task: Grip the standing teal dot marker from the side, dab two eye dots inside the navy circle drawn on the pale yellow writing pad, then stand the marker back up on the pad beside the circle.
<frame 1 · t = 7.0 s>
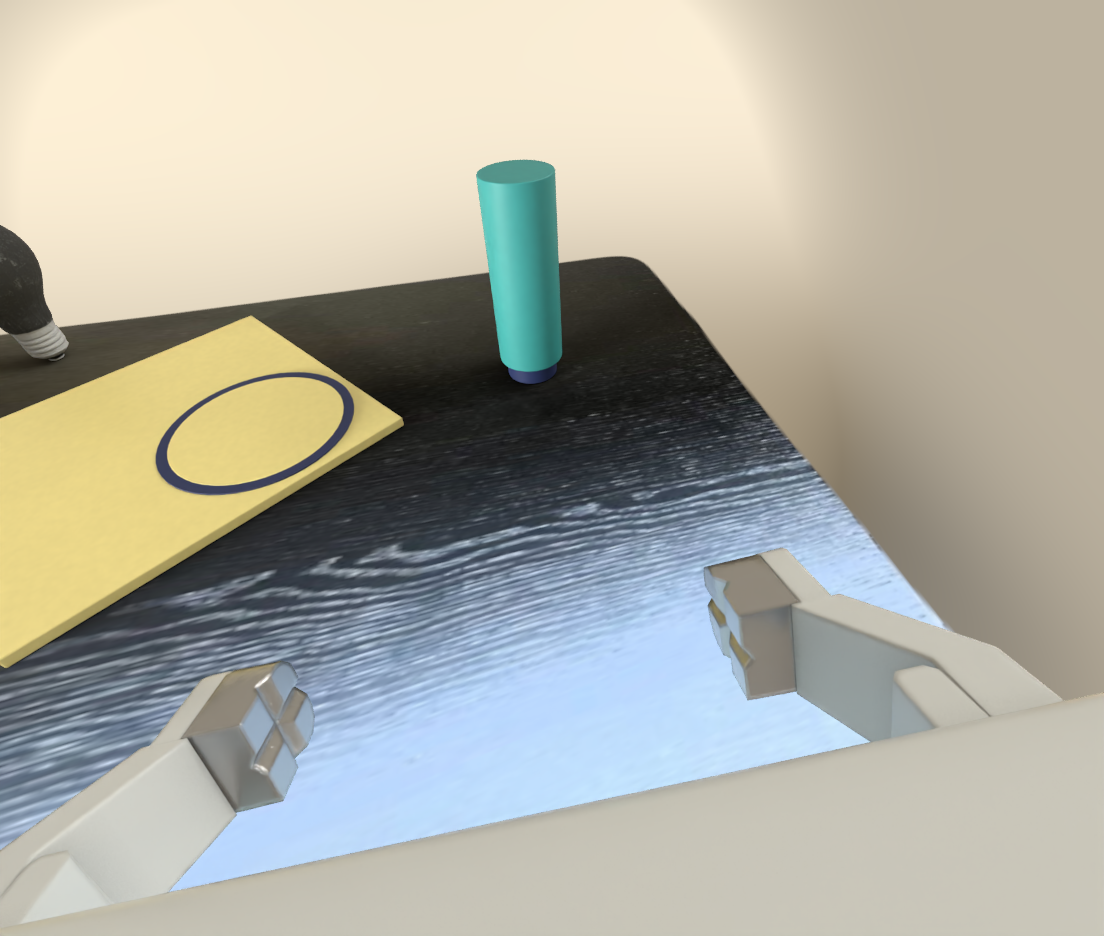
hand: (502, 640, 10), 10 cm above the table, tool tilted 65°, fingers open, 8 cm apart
light bulb: (59, 359, 39), on the table
dot marker: (532, 370, 35), on the table
writing pad: (169, 440, 32), on the table
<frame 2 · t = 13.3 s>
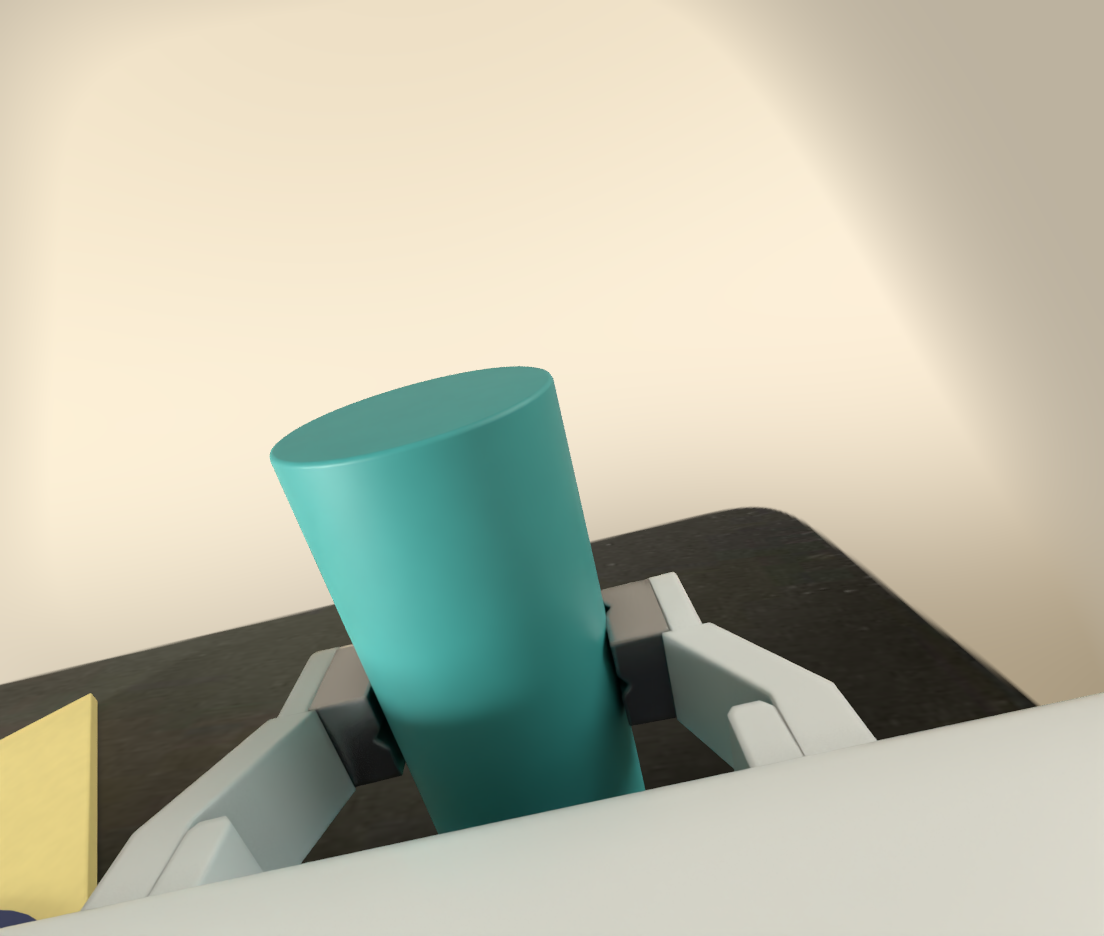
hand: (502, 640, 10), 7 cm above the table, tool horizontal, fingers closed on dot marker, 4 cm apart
dot marker: (581, 911, 12), on the table, touching gripper
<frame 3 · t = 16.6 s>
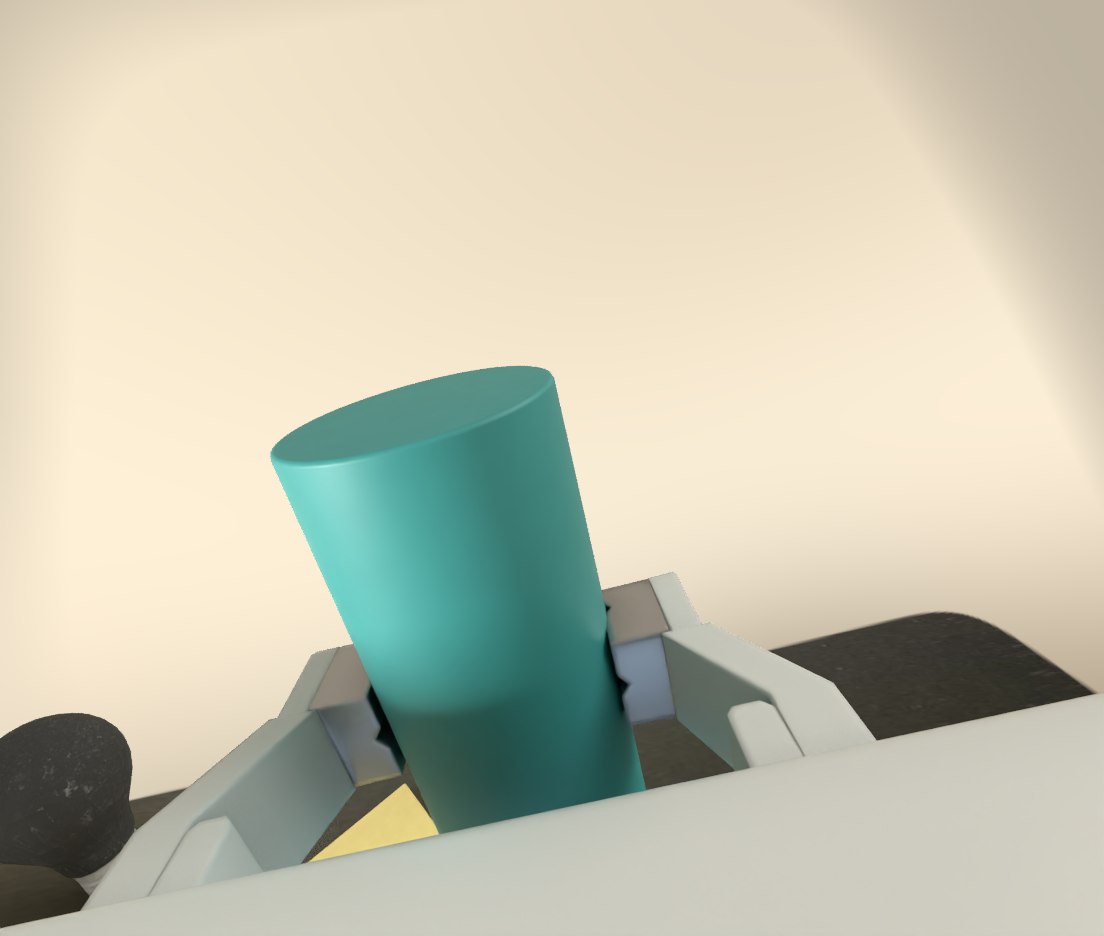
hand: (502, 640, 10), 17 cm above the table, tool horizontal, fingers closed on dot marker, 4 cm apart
light bulb: (132, 886, 26), on the table
dot marker: (581, 911, 12), point 10 cm above the table, touching gripper
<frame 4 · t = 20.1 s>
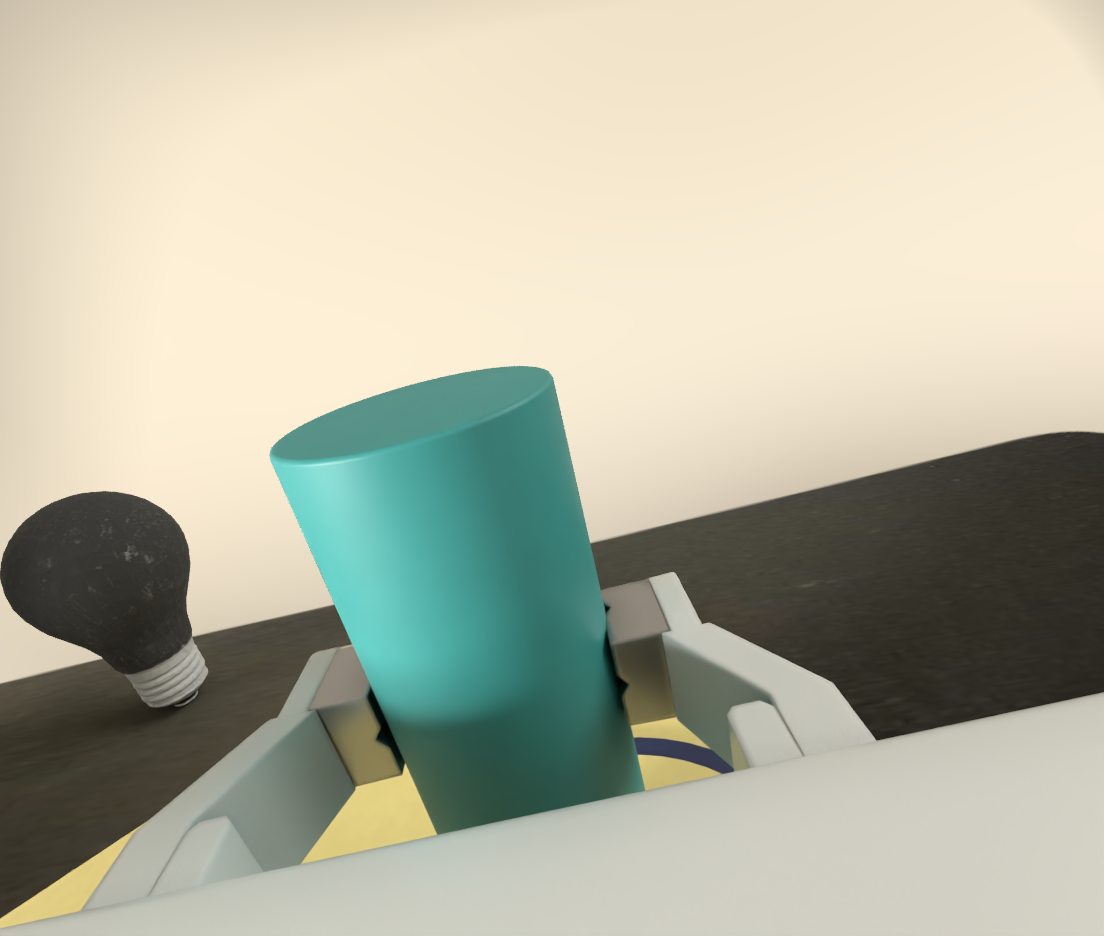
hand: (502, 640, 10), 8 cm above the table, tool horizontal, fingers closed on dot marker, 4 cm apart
light bulb: (188, 702, 23), on the table
dot marker: (581, 915, 12), point 1 cm above the table, touching gripper, writing pad
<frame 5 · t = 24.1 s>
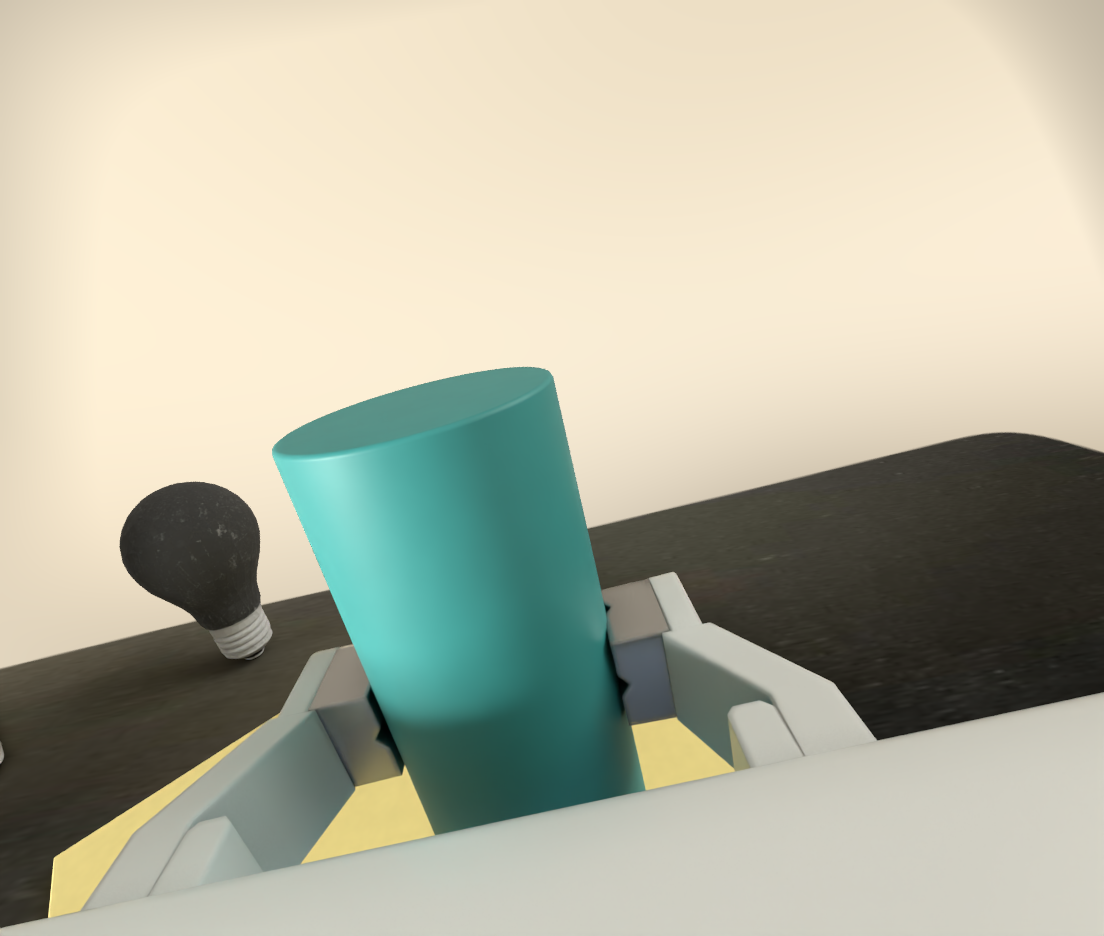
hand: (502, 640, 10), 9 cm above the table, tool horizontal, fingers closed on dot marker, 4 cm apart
light bulb: (256, 656, 28), on the table
dot marker: (583, 925, 12), point 2 cm above the table, touching gripper
writing pad: (439, 835, 17), on the table
when the fingers open (8 cm above the table, at t = 27.3 s): dot marker stays where it is, resting on writing pad.
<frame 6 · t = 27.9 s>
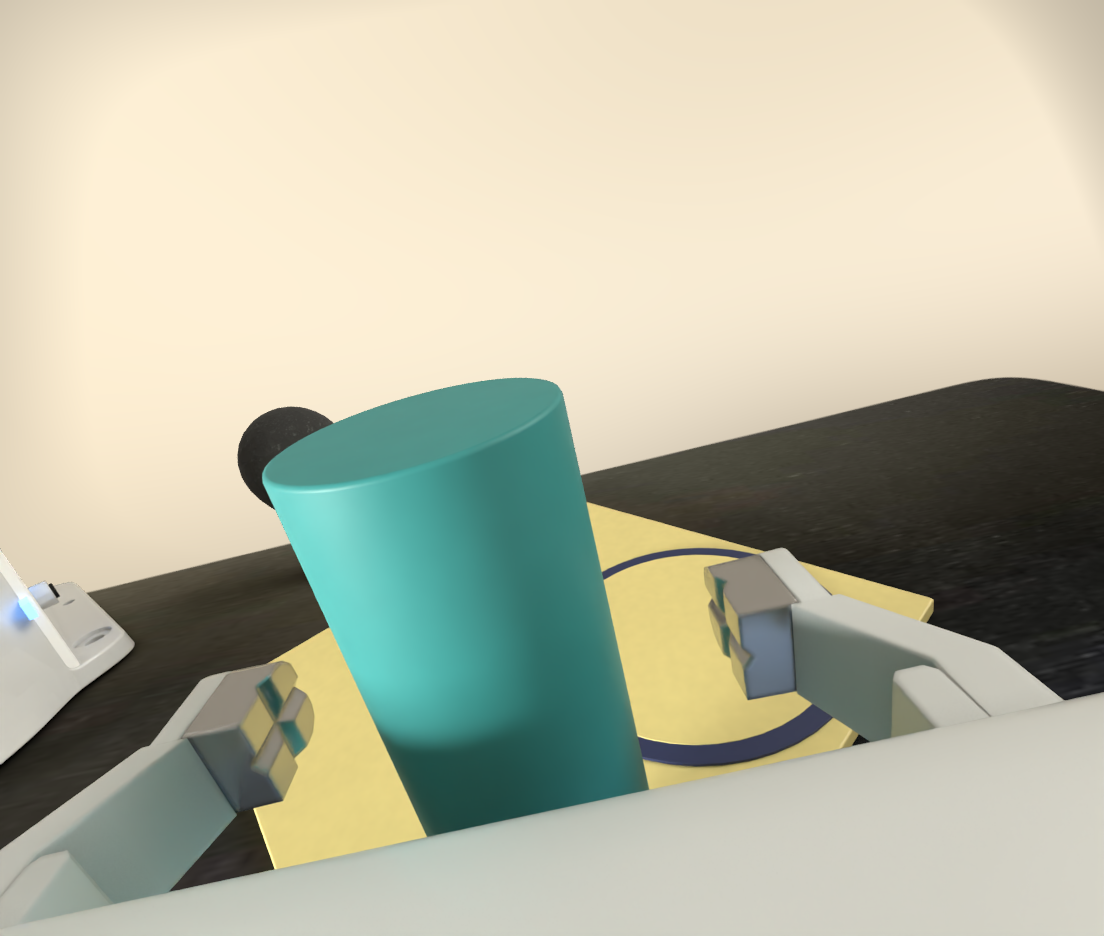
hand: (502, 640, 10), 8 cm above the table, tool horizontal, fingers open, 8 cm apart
light bulb: (342, 567, 32), on the table
writing pad: (542, 663, 20), on the table
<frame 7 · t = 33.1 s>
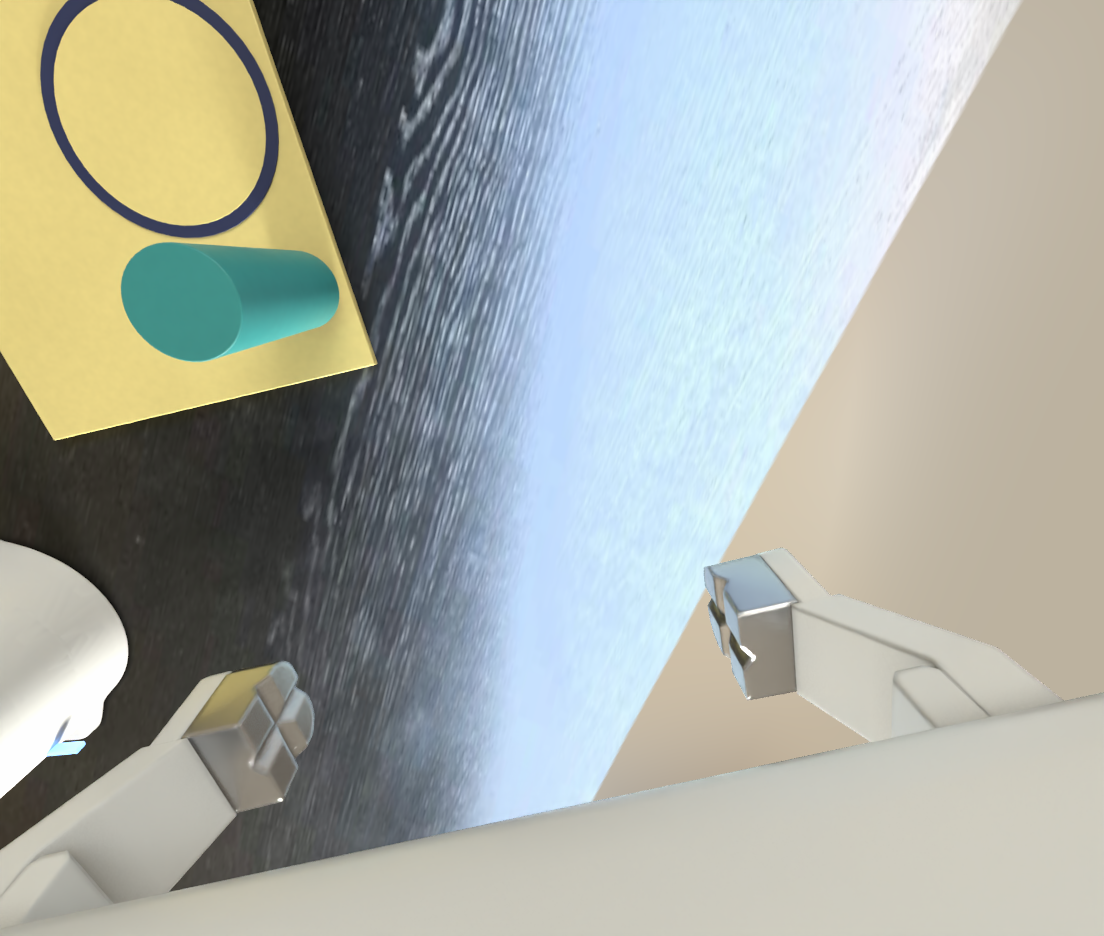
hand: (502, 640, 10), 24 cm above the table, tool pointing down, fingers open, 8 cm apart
dot marker: (309, 289, 30), point 1 cm above the table, touching writing pad
writing pad: (135, 223, 28), on the table
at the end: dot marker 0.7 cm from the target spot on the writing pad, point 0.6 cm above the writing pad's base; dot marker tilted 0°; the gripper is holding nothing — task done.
